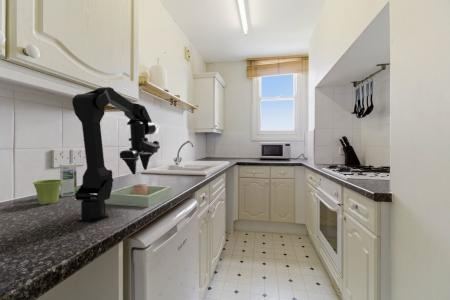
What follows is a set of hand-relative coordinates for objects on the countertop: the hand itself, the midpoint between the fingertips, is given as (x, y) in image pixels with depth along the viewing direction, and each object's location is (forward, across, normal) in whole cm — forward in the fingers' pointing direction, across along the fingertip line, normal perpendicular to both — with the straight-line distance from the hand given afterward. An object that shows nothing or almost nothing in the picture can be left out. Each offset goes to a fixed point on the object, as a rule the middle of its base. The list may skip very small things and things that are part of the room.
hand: (139, 171), depth 99 cm
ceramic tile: (+12, -2, +20) cm, 23 cm away
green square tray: (+12, -1, 0) cm, 12 cm away
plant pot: (+11, -13, +33) cm, 37 cm away
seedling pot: (+12, -1, 0) cm, 12 cm away
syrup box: (+12, 0, +36) cm, 38 cm away
